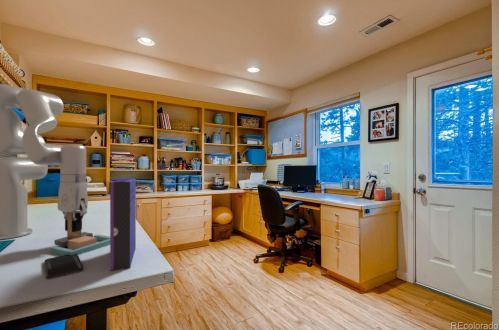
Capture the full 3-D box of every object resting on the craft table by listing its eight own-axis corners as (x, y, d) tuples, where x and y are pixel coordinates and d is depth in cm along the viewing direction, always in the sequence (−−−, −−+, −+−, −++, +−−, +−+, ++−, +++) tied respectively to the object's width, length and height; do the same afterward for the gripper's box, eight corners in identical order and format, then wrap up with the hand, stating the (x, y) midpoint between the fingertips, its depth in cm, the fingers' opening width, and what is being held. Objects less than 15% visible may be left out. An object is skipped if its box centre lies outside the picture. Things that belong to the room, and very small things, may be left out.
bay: (49, 252, 79) (49, 247, 79) (97, 238, 93) (97, 234, 93) (71, 257, 74) (71, 252, 74) (117, 241, 89) (117, 237, 89)
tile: (67, 249, 82) (67, 240, 82) (85, 243, 88) (85, 235, 88) (78, 251, 80) (78, 242, 80) (96, 246, 85) (96, 237, 85)
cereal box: (120, 249, 81) (120, 178, 81) (135, 247, 83) (135, 178, 83) (110, 270, 65) (110, 181, 65) (129, 268, 67) (129, 181, 67)
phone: (76, 252, 76) (83, 268, 65) (76, 256, 76) (83, 272, 65) (44, 259, 71) (45, 277, 60) (44, 263, 71) (45, 281, 60)
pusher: (63, 246, 81) (62, 215, 81) (54, 244, 83) (53, 214, 83) (92, 237, 90) (92, 209, 90) (84, 236, 92) (83, 208, 92)
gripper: (48, 179, 86) (48, 230, 86) (77, 180, 80) (77, 235, 80) (70, 178, 93) (70, 225, 93) (99, 179, 87) (98, 230, 87)
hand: (73, 229), depth 87 cm, fingers closed on pusher, 3 cm apart
